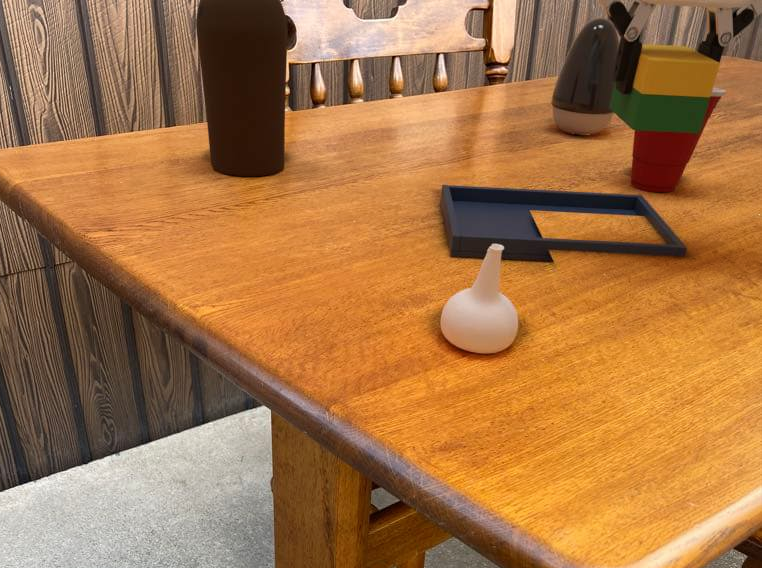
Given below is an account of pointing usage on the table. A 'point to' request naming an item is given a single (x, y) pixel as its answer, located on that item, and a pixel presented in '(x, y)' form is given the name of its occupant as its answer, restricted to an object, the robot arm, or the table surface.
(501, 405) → the table surface
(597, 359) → the table surface
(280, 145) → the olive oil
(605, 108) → the grey rounded egg shape
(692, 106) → the sponge
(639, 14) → the robot arm
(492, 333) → the garlic bulb
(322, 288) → the table surface
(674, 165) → the plastic cup
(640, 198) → the tray
